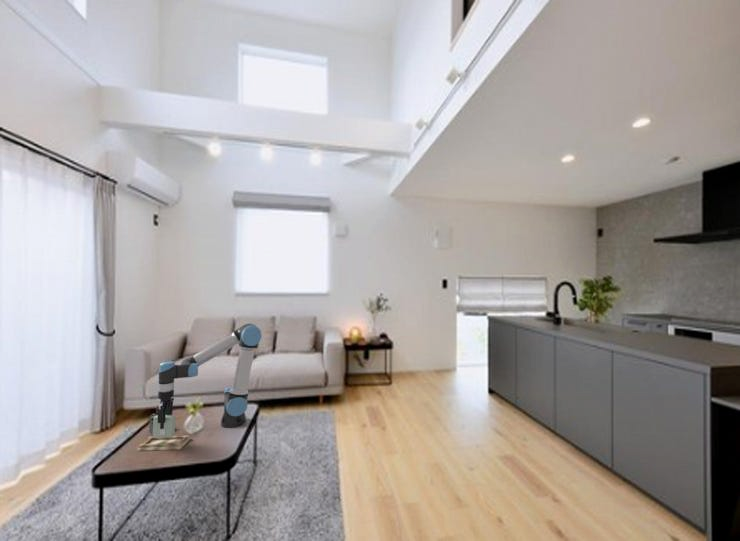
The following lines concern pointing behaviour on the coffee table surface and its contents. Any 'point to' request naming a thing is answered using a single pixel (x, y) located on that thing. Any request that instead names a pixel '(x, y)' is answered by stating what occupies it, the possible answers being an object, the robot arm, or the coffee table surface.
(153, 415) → the camera
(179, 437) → the track board
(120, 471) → the coffee table surface
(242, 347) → the robot arm
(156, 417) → the pale green block
